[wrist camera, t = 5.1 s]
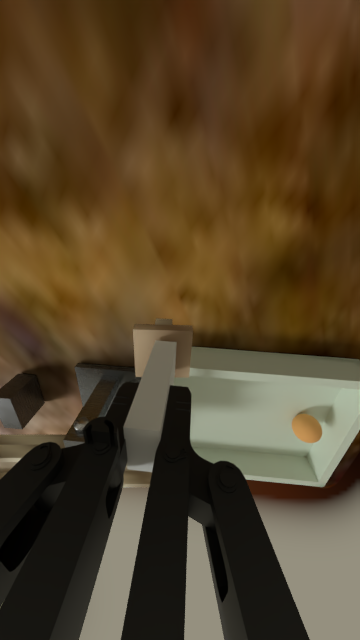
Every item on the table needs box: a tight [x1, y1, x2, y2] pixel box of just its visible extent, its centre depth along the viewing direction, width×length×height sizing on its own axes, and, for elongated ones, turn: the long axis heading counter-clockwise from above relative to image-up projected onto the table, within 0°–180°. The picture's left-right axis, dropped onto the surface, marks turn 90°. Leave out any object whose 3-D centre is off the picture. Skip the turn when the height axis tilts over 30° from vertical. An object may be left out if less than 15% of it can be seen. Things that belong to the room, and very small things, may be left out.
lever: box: [0, 319, 193, 488], centre depth 17 cm, size 22×18×3 cm
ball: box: [292, 414, 322, 443], centre depth 25 cm, size 3×3×3 cm
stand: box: [0, 363, 142, 448], centre depth 24 cm, size 18×10×9 cm, turn 87°
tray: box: [173, 347, 360, 487], centre depth 26 cm, size 24×18×4 cm
